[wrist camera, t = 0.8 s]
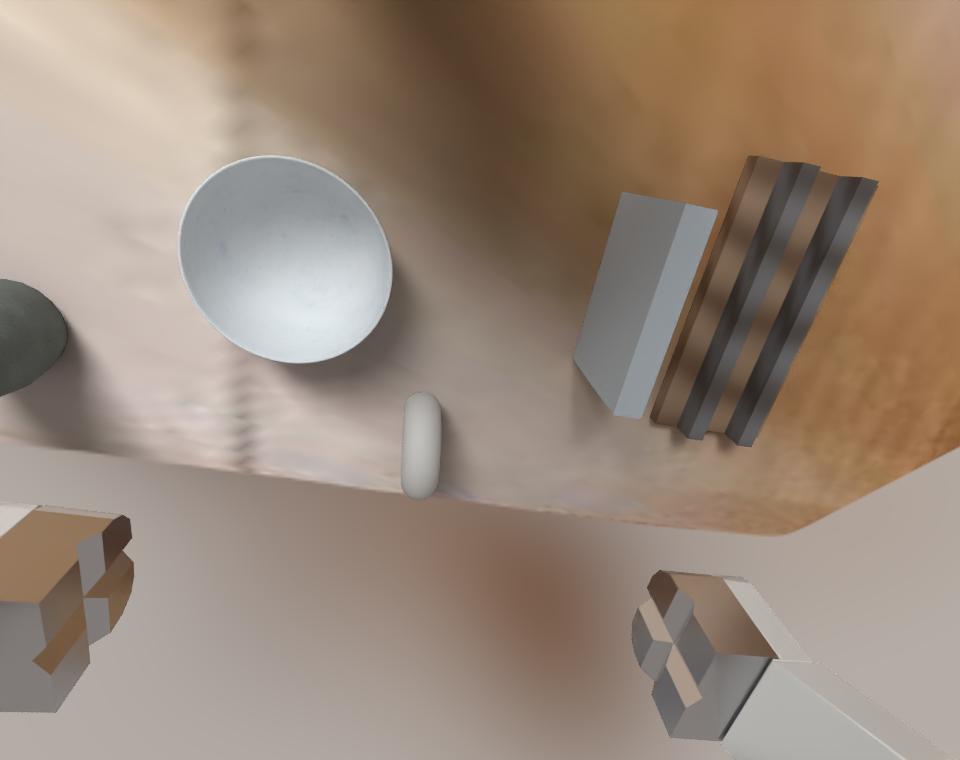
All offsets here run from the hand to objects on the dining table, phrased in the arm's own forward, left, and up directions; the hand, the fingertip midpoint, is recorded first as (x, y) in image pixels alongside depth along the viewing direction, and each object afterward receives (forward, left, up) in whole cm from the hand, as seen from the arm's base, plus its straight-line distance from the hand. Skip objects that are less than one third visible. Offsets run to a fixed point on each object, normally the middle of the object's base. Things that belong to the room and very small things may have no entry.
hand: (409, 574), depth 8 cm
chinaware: (+3, -9, -40) cm, 41 cm away
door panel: (+1, +18, -39) cm, 43 cm away
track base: (+1, +33, -39) cm, 51 cm away
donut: (+18, +3, -40) cm, 44 cm away
